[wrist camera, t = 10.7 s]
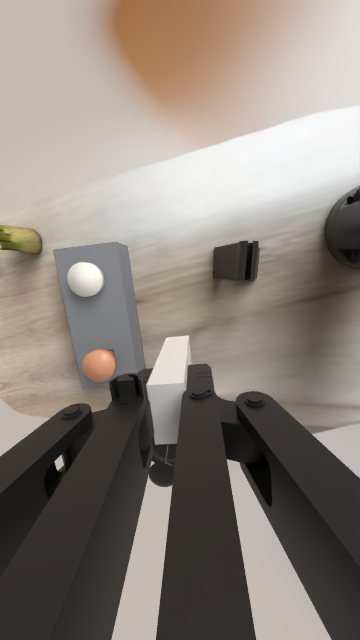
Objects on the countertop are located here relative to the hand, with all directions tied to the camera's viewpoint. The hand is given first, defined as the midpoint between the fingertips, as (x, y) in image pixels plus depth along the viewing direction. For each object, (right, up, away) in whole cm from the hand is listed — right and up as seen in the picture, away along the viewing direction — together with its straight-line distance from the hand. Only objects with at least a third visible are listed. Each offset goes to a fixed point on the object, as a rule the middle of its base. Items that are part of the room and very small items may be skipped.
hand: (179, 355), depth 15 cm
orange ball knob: (-15, -5, +35) cm, 38 cm away
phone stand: (+12, +14, +32) cm, 37 cm away
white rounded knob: (-16, +11, +33) cm, 38 cm away
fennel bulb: (-31, +19, +33) cm, 49 cm away
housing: (-15, +4, +36) cm, 39 cm away
